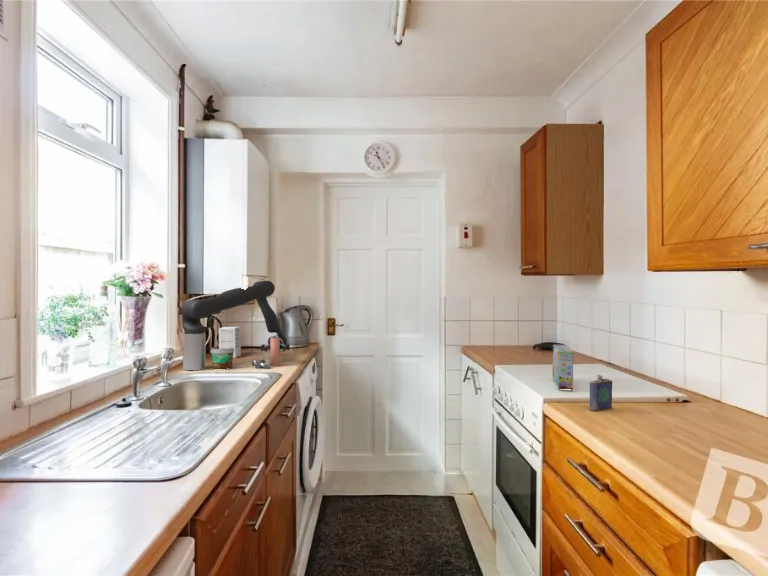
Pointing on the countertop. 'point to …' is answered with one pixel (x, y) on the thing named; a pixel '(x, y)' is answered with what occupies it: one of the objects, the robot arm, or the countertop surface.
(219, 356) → the food container
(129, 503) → the countertop surface
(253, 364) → the shaft
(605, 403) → the flask
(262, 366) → the shaft
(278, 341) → the pink capped rod
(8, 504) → the countertop surface
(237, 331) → the supplement box
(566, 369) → the snack box
